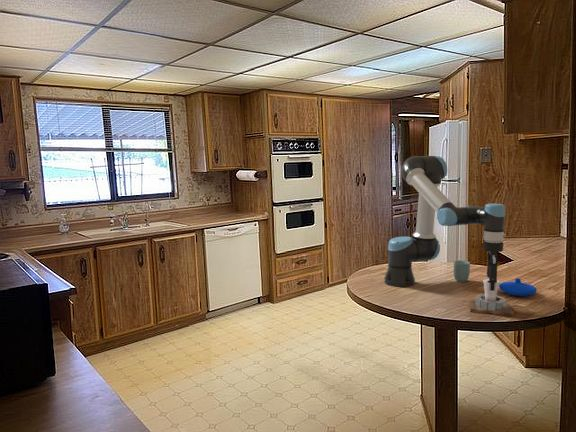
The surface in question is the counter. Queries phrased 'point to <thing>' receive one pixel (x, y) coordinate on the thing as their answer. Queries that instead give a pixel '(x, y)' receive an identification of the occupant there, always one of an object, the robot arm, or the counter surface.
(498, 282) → the smoothie
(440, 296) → the counter surface
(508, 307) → the board
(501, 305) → the ring
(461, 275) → the cup
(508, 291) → the blue funnel
